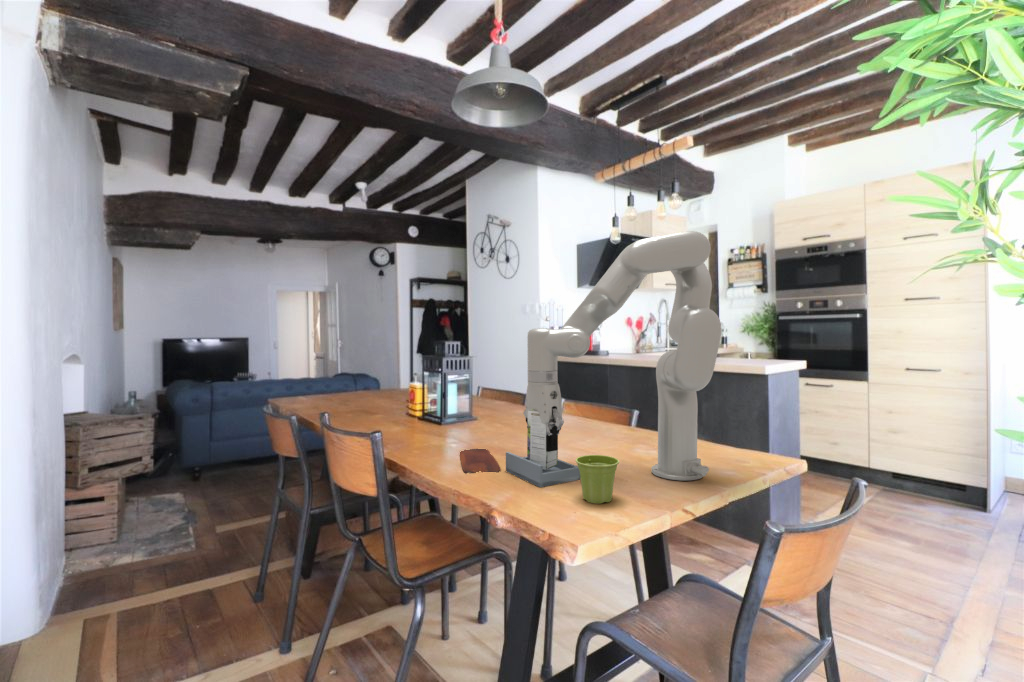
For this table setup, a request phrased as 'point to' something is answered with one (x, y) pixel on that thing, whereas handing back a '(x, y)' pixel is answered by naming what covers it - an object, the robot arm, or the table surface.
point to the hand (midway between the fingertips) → (542, 447)
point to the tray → (541, 471)
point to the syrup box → (539, 442)
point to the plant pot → (597, 477)
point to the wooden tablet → (478, 461)
